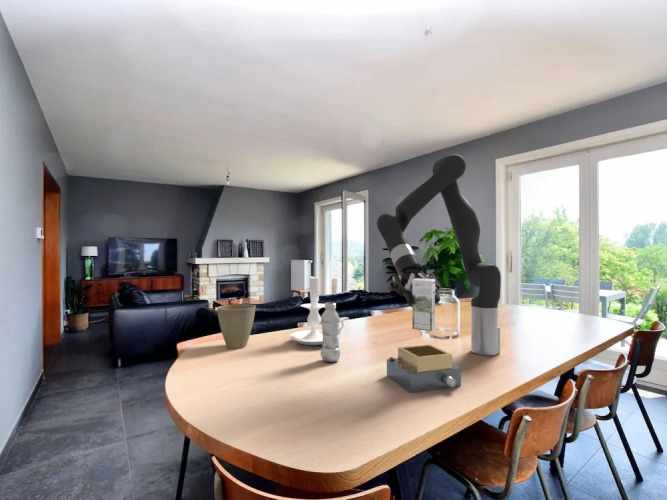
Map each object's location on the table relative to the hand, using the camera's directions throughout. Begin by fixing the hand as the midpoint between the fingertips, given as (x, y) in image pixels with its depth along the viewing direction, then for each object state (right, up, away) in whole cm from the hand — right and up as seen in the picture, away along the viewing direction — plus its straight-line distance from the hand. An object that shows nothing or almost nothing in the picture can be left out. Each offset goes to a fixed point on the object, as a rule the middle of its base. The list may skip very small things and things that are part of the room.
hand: (425, 302), depth 101 cm
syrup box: (0, -8, +1) cm, 8 cm away
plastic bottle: (-28, -23, +20) cm, 41 cm away
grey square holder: (0, -23, 0) cm, 23 cm away
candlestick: (-33, -24, +46) cm, 61 cm away
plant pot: (-65, -24, +39) cm, 80 cm away
